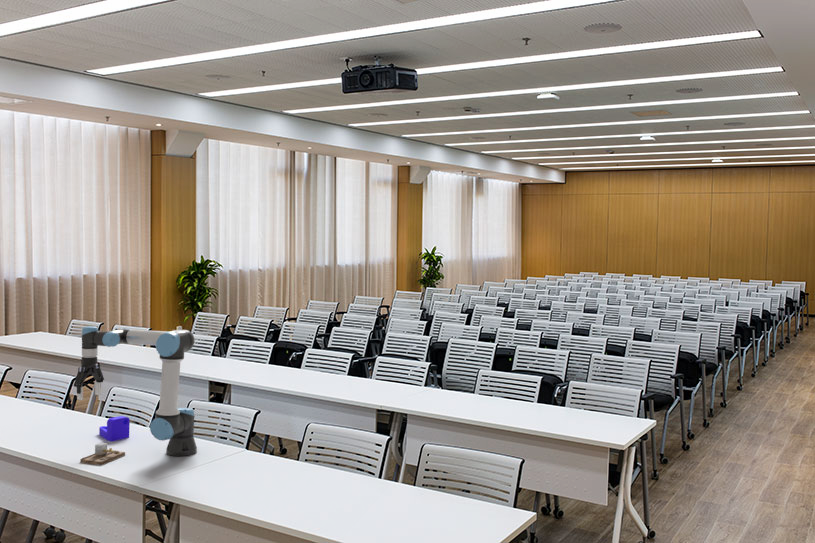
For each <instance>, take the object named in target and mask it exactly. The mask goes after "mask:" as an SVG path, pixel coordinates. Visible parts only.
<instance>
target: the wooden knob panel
mask: <svg viewBox="0 0 815 543" xmlns="http://www.w3.org/2000/svg"><path fill="white" fill-rule="evenodd" d="M125 456H126V452H125V451H119V450H114V452H107V454H105V455H102V456H101V455H95V453H92V454H90V455H87V456H85V457H82V458H80V460H79V462H80V463H82V464H87V465H88V464H89V465H96V466H97V465H98V466H103V465H105V464H108V463H110V462H112V461H116V460H117V459H119V458H120V459H121V458H122V457H125Z"/></svg>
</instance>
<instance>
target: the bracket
mask: <svg viewBox="0 0 815 543" xmlns="http://www.w3.org/2000/svg"><path fill="white" fill-rule="evenodd" d="M130 421H131V420H130V417H127V416H124V415H120V416H115V417H110V418H109V419H108V420H107V421H106V425H102V426H99V430H98V433H99V434H98V435H99V436H100V437H101V438H102V439H105V440H106V441H108V442H115V441H120V440H124V439H128V438H130V428H131V427H130V423H131V422H130Z"/></svg>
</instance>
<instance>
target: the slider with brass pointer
mask: <svg viewBox="0 0 815 543" xmlns="http://www.w3.org/2000/svg"><path fill="white" fill-rule="evenodd" d="M108 448H109V449H108ZM114 451H115V450H114V449H113V448H112V447H108V443H106V442H105V443H104V442H99V443H96V444H94V454H95V455H101V456H102V455H105V454H107V452H114Z"/></svg>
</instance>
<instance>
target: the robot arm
mask: <svg viewBox="0 0 815 543" xmlns="http://www.w3.org/2000/svg"><path fill="white" fill-rule="evenodd" d="M121 344H122V345H123V344H124V345H125V344H127V345H131V344H132V345H142V346H144V345H145V346H155V349H156V351H157V354H158V355H159V360H161V361H162V362H161V363H162V364H161V376H160V377H161V378H160V393H159V406H158V407H159V408H158V409H157V410H156V411H155V416H154V417H155V418H154V419H153V420H152V421H151V422H150V426H149V430H150V434H151V435H152V436H153V437H154V438H155V439H156V440H158V441H166V440H167V441H168V440H169V441H168V443H167V447H166V450H165V451H166V455H168V456H173V457H186V456H191V455H194V454H196V453H197V452H198V446H197V443H196V440H195V436H194V435H195V416H196V415H195V410H194V409H193V408H189V407H178V402H179V400H178V399H179V389H180V388H179V386H180V372H181V362H182V361H183V360H184V358H185V353H186V352H189V351H190V350H191V349H192V348H193V347H194V345H195V337H194V334H193V333H192V332H191V331H190V330H188V329H172V331H171V330H170V331H163V330H162V331H161V330H144V329H130V328H120V329H115V330H109V331H108V330H107V331H103V330H102V331H101V330H99V329H98V327H97V326H93V325H92V326H84V327H82V328H81V365H82V367H78V369H77V374H76V377H75V380H74V383H73V387H74V388H76V399H77V401H83V400H84V399H83V398H84V396H83V394H84V389H83V388H84V387H83V385H84V382H85V381H86V378H87V377H89V376H90V375H92V377H93V379H94V381H95V382H94V395H96V396H101V389H102V388H101V387H102V383H103V382H104V381H105V378H104V374H103V371H102V369H101V364H100V363H98V354H99V352H98V351H99V349H98V346H99V347H100V346H101V347H107V348H110V347H112V348H113V347H116V346H118V345H121Z"/></svg>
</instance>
